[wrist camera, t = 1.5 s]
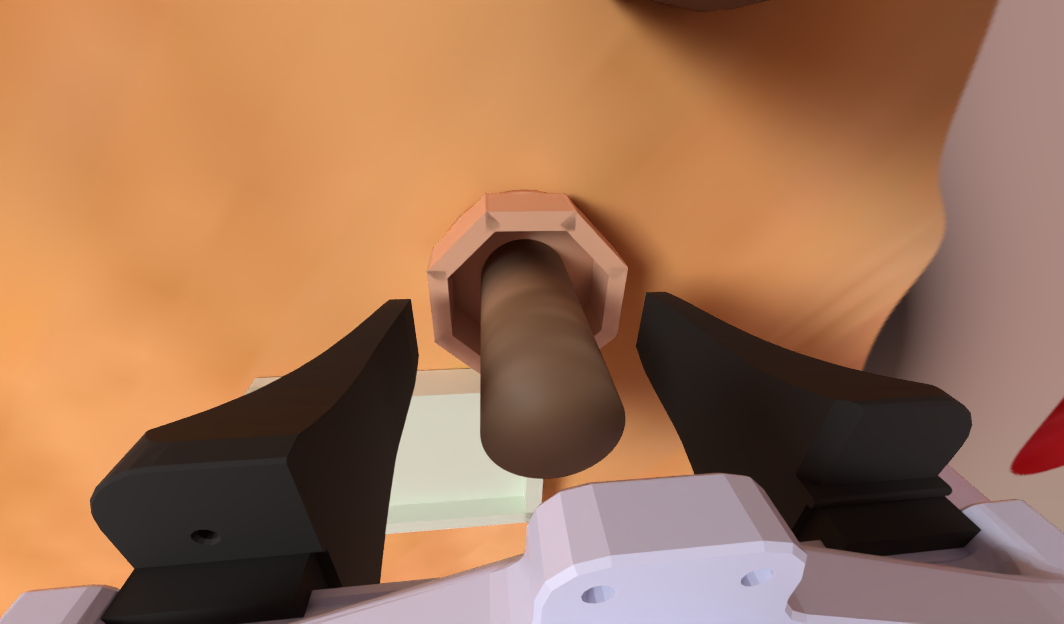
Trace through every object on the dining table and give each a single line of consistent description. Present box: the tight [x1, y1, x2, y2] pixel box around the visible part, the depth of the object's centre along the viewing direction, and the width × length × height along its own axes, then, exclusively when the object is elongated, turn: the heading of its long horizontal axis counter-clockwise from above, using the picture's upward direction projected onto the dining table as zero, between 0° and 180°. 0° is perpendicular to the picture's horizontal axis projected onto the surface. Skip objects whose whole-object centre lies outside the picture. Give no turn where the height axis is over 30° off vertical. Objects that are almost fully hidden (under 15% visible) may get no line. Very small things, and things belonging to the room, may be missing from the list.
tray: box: [243, 368, 543, 534], centre depth 19 cm, size 12×9×2 cm
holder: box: [427, 190, 628, 374], centre depth 15 cm, size 6×6×2 cm
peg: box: [480, 239, 625, 479], centre depth 12 cm, size 3×3×8 cm
